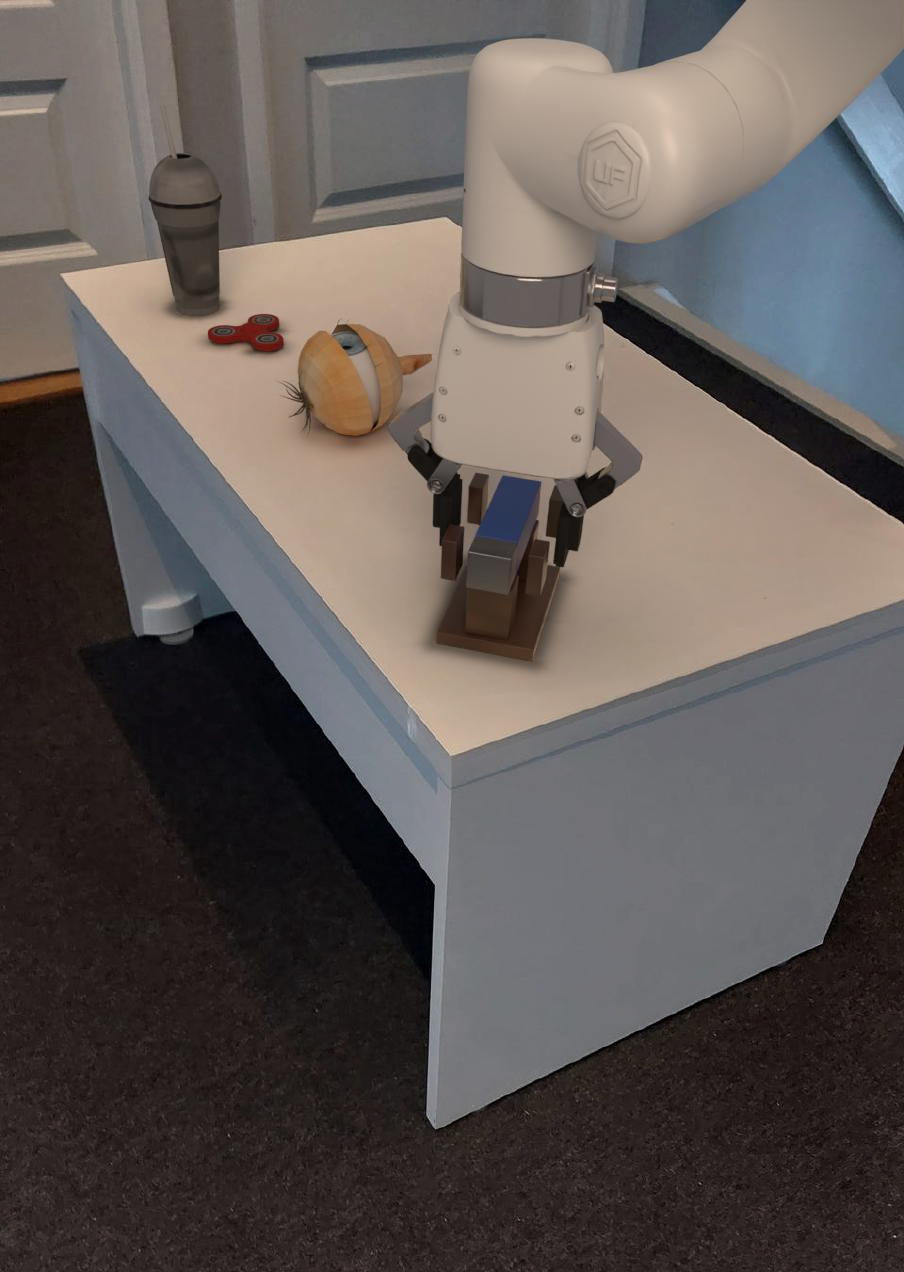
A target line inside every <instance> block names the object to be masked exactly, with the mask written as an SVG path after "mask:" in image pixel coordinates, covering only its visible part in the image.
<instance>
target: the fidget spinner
mask: <svg viewBox="0 0 904 1272" xmlns="http://www.w3.org/2000/svg"><path fill="white" fill-rule="evenodd" d="M278 328H280V319H279V317H278V316H277V315H274V314H271V313H258V314H253V315H251V316H249V317H248V318H247V322H245V323H243V324H242V325H231V324H230V325H229V324H220V325H214V326H212V327H210V328H209V329H208V330H207V338H208V340H209V341H210V342H212V343H215V344H230V343H234V342H245V343H249V344H250V345H251V347H252V348H253V349H255V350H258V351H263V352H270V351H276V350H280V349H281V348H283V346H284V343H285V341H284V337H283V336H282V334H280V333H278V332H272V331H274V330H276V329H278Z"/></svg>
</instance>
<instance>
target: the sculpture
mask: <svg viewBox="0 0 904 1272" xmlns="http://www.w3.org/2000/svg"><path fill="white" fill-rule="evenodd" d="M341 320H342V318H340V319H339V320H338V321H337V323H336V326H335V327H334V329H333V331H332V333H329V332H328V331H327V330H318V331H317V332H315V334H313V335H312V336H311V337H309V338H308V339H307V341H306V342H305V344H304V346H303V347H302V349H301V351H300V354H299V358H298V366H297V375H298V376H297V379H298V388H297V387H296V386H295V385H293V384H292V383H290V382H289V381H285V380H283V382H284V383H283V382H282V381H279V380H276V379H275V381H276V382H278V383H280V384H281V385H283V386H285V389H286V390H285V391H286V392H287V394H288V395H289V396H290V397H287V396H284V395H280V394H279V396H280V397H283V398H285V399H288V400H291V401H294V402H296V403H300V404H302V405H301V406H300V407H299V409H298V410H297V411H296V412H295V413H293V414H292V415H289V418H292V417H295V416H298V415H300V414H302V413H303V412H304V411H305V416H304V418H305V424H304V427H303V428H302V429H301V431H300V432H299V434H301V432H303V433H305V432H306V430H307V428H308V425H309V428H308V433H307V435H306V436H307V437H306V438H308V436H309V434H310V431H311V427H312V426H311V425H312V424H311V423H312V416H311V414H312V415H313V416H314V417H315V418H316V419H317V421H318V422H320V423H321V424H323V426H324V428H325V429H327V428H328V429H329V430H331V431H332V432H333V431H334V433H336V434H340V435H345V436H354V437H355V436H362V435H365V434H368V433H372V432H374V431H376V430H377V429H379V428H381V427H383V426H384V425H385V423H386V422H387V421H388V420H389V419H390V417H391V416H392V414H393V413H394V411H395V410H396V409H397V406H398V404H399V401H400V399H401V396H402V394H403V385H404V376H407V375H408V376H409V375H412V374H414V373H416V372H417V371H418V370H420V369H422V368H423V367H425V366H427V365H428V364H430V363H431V362H432V361H433V353H420V354H408V355H400V356H398V355H397V353H396V351H395V350H394V349H393V346H391V344H390V343H389V341H388V340H387V338H386V337H385V336H383V335H380V334H379V333H377V332H375V331H373V330H371V329H370V328H368V327H366V326H364V325H363V324H360V323H348V322H349V321H350V320H351V318H350V319H348V320H347V321H346V323H341V324H339V322H340V321H341ZM285 383H287V384H288V385H290V386H291V387H292V388H291V387H289V386H288V385H286V384H285ZM287 388H288V389H289V390H290V391H291V392H292V393H293V394H295V395H292V394H291V393H290V392H289V390H288V389H287Z"/></svg>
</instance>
